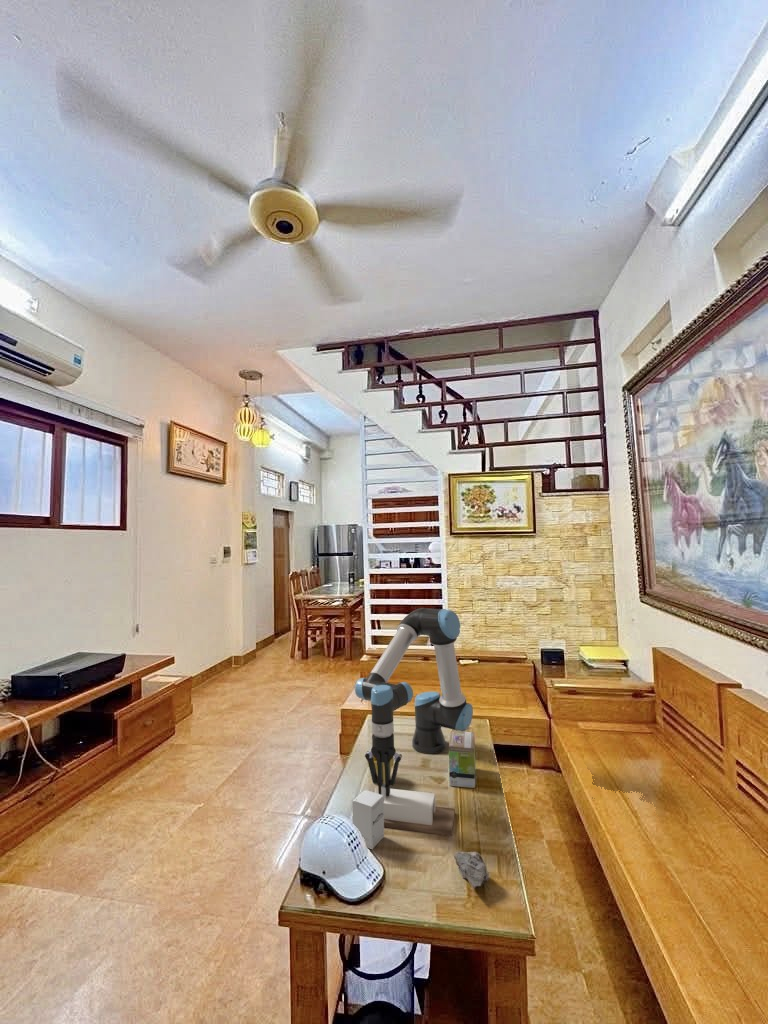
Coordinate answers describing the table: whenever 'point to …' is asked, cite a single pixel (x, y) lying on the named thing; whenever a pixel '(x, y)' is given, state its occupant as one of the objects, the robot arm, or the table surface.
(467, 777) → the tea box
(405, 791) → the panel
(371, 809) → the supplement box
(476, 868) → the mineral specimen
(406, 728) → the table surface
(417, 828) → the board
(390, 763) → the plant pot
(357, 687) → the robot arm
